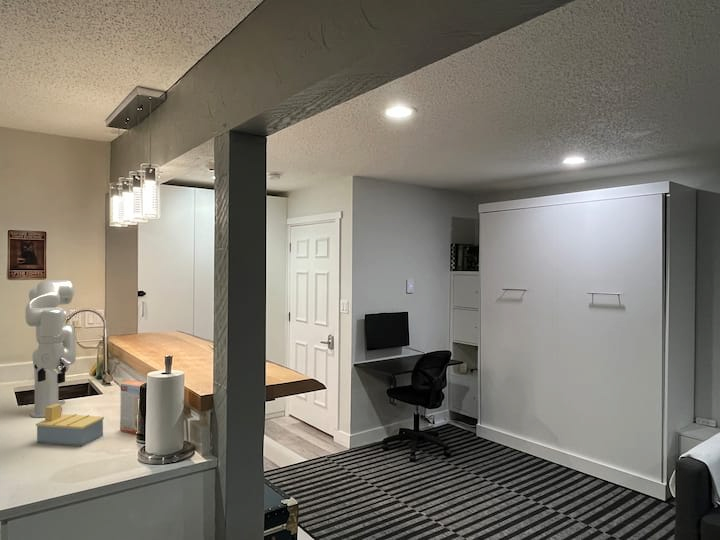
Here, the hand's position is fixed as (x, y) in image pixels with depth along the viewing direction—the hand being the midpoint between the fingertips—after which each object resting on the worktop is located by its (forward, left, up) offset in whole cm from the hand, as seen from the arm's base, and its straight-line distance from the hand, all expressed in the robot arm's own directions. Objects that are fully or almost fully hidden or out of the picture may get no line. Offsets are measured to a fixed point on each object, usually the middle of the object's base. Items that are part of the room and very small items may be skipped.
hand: (51, 381), depth 196 cm
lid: (-2, +7, -17) cm, 18 cm away
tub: (-2, +7, -24) cm, 25 cm away
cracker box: (-15, +28, -24) cm, 40 cm away
